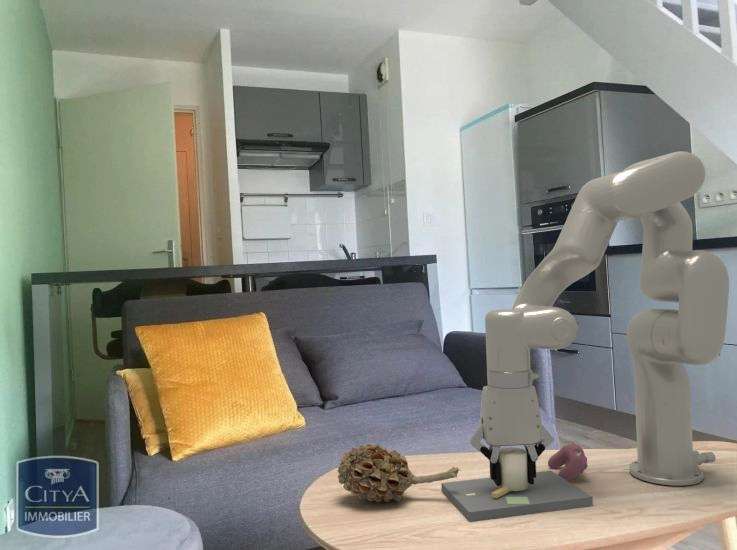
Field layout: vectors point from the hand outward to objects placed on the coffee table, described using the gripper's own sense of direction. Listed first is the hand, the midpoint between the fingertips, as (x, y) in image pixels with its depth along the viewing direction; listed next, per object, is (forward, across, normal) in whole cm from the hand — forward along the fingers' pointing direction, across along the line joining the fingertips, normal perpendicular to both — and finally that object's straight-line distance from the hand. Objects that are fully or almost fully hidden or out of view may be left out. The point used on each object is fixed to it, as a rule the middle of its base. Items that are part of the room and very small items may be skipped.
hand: (513, 481), depth 104 cm
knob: (+1, +1, +1) cm, 2 cm away
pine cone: (+3, +20, -2) cm, 20 cm away
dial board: (+3, 0, 0) cm, 3 cm away
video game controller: (+3, -13, -10) cm, 17 cm away
